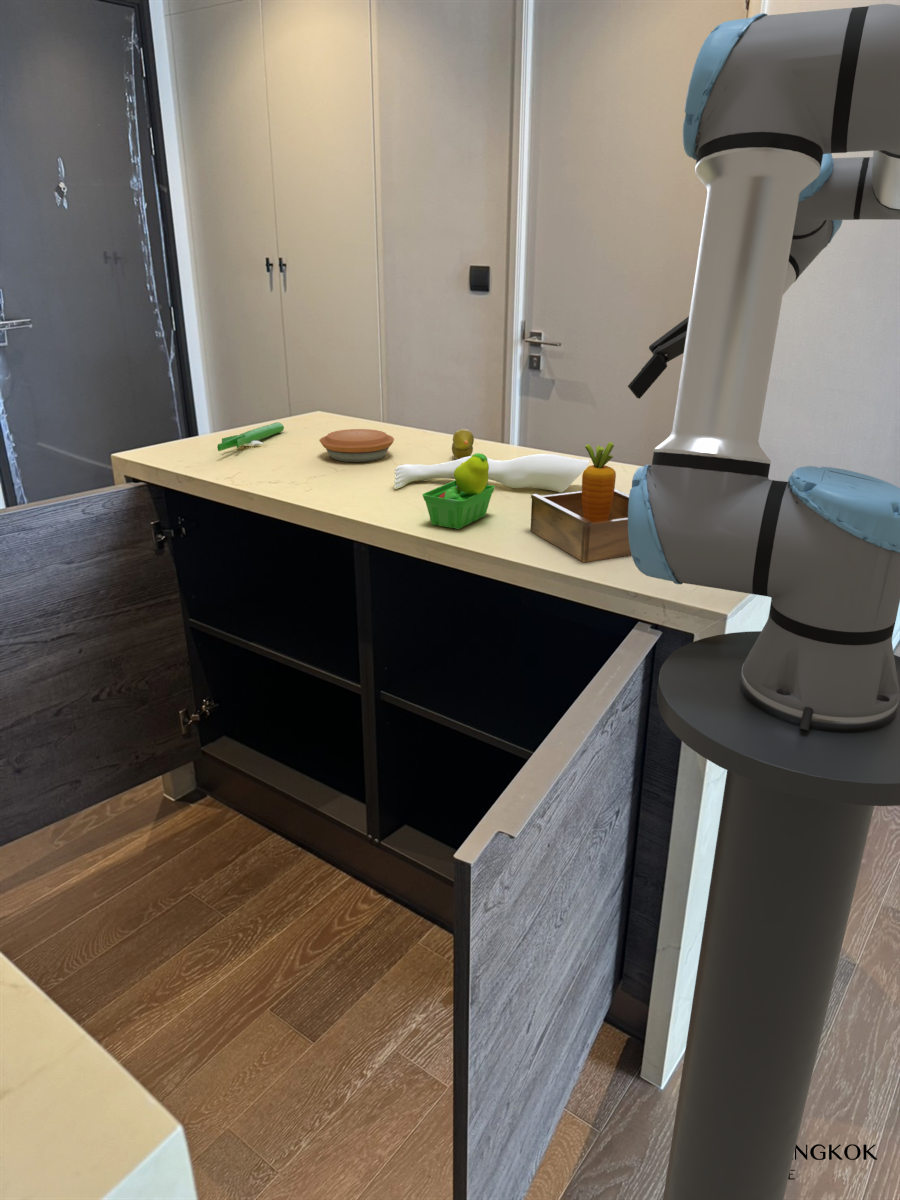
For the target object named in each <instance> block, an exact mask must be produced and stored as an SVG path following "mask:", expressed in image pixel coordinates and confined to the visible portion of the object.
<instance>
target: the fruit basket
mask: <svg viewBox="0 0 900 1200" xmlns="http://www.w3.org/2000/svg"><path fill="white" fill-rule="evenodd" d="M471 456H472V457H471V458H469V459H468V460H467V461H465V462H463V463H462V464H460V466H458V467H457V468H456V469H455V471H454V477H455V479H454V480H452V481H450V482H447V483H446V484H445V483H444V484H443V485H441V486H438V487H436V488H434V489H431V490H429V491H426V492H424V493H422V498H423V500H424V502H425V505H426V509H427V512H428V516H429V520H430V523H431V525H434V526H440V527H444V528H451V529H455V530H460V529H462V528H464V527H465V526H466V527H467V526H468V525H470V524H472V523H474V522H477V521H478V520H479V519H482V518H484V517H486V514H487V511H488V508H489V505H490V501H491V498H492V494H493V493H494V491H495V488H496V486H495V485H491V484H488V482H489V479H488V470H489V464H488V462H487V460H488V459H487V458H488V457H487V456H486V454H484V453H479V452H476V453H474V454H471Z"/></svg>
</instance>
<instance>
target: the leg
mask: <svg viewBox="0 0 900 1200" xmlns="http://www.w3.org/2000/svg"><path fill="white" fill-rule="evenodd" d="M471 457H472V455H471V456H468V457H464V458H460V459H458V458H457V459H455V460H450V461H445V462H441V463H436V464H435V463H434V464H418V463H416V464H410V463H405V464H399V465H398V466H396V468H395V469H394V475H395V476H394V477H393V478H394V479H395V480H394V481H393V483H394V486H393V487H394V489H395V490H397V489H400V488H403V487H404V486H406V485H407V484H409V483H412V482H415V481H419V482H425V481H429V480H436V479H437V480H439V479H448V480H455V477H454V471H455V469H456V468H457V467H458V466H460V464H462V463H463V462H465V461H467V460H468V459H469V458H471ZM487 459H488V460H487V462H488V464H489V470H488V481H493V482H496V483H500V484H502V485H503V486H506V487H507V488H512V489H523V488H531V489H538V490H547V491H551V492H556V493H558V494H561V493H564V492H565V491H566V490H567V489H568V488H569V487H570V486H571V485H572V484H573V483H574V482H575V481H576V479H577V478H578V477H579V476H580V475H581V474H583V472H584V470H585V469H586V468H587V467H588V465H589V463H590V459H582V458H574V457H571V456H570V457H569V456H565V455H560V454H553V453H537V454H536V453H535V454H529V455H523V456H519V457H516V458H512V459H507V460H499V459H492V458H489V457H487Z"/></svg>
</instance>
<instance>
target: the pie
mask: <svg viewBox="0 0 900 1200" xmlns="http://www.w3.org/2000/svg"><path fill="white" fill-rule="evenodd" d="M318 441H319V443H320V444H321V446H322V447H323V448H325V451H326V452H327V453H328V455H329V457H330V458H331V459H333V460H335V461H338V462H342V463H343V462H344V463H368V462H374V461H378V460H381V459H383V458H385V456H386V454H387V452H388V450H389V448H390V447H391V446H392V445H393V444H394V441H395V438H394V437H393V436H392V435H390V434H387V432H384V431H383V430H378V429H368V428H351V429H349V428H348V429H339V430H335V431H331V432H329V433H327V435H324V436H323V437H320V438H319V439H318Z"/></svg>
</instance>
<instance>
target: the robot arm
mask: <svg viewBox="0 0 900 1200" xmlns="http://www.w3.org/2000/svg"><path fill="white" fill-rule="evenodd" d="M687 88H688V89H687V92H686V99H685V104H684V113H685V115H684V120H683V125H682V144H683V150H684V153H685V154H686V155H687V157H689V158H691V159H693V160H695V161H696V162H695V168H694V169H695V170H694V173H695V176H696V177H697V179H699V181H700V182H701V183H702V184H703V186H704V187H705V189H706V190H707V194H706V201H705V207H704V215H703V221H702V227H701V235H700V239H699V240H700V241H699V247H698V253H697V254H698V255H697V261H696V267H695V268H696V269H695V275H694V282H693V289H692V294H691V300H690V301H691V302H690V307H689V315H688V316H687V317H686V318H684V319H683V320H681V321H680V322H678V323H677V324H676V325H675V326H673V328H671V329H670V330H668V331H667V332H665V333H663V335H662V336H660V337H659V338H657V340H655V341H653V342H652V343H651V344H650V345H649V346H648V350H649V351H650V352H651V353H652V356H651V357H650V359H649V360H648V361H647V362H646V363H645V364H644V366H643V367H642V368H641V369H640V370H639V372H638V373H637V374H636V376H635V377H634V378H633V379H632V380H631V381H630V383H629V384H628V385H627V388H628V389H629V390H630V391H631V392H632V394H633V395H634V396H635V398H637V399H641V398H642V397H643V396H644V395H645V394H646V392H647V391H648V390H649V389H650V387H652V385H653V384H654V383H655V382H656V381H657V379H658V378H659V377H660V376H661V375H662V373H664V371H665V370H666V369H667V368H668V363H669V362H670V361H672V360H674V359H675V358H677V357H680V356H681V355H682V354H683V356H682V362H681V369H680V375H679V381H678V387H677V388H678V389H677V395H676V403H675V408H674V416H673V421H672V422H673V423H672V427H671V428H672V429H671V432H670V434H669V436H668V437H667V438H666V439H665V440H663V441H662V442H661V443H659V444H658V445H657V446H656V447H654V450H653V452H652V453H653V454H652V460H651V465H650V464H645V465H643V466H639V467H638V468H637V469H636V470H635V472H634V473H633V475H632V480H631V488H630V490H629V493H628V495H629V503H628V536H629V545H630V550H631V555H630V556H631V558H632V561H633V563H634V565H635V567H636V568H637V569H638V571H639V572H640V573H642V574H643V575H645V576H647V577H649V578H654V579H659V580H663V581H668V582H673V583H674V584H675V585H683V584H685V585H686V584H687V585H692V586H699V587H706V588H712V589H719V590H724V591H730V592H737V593H743V594H748V595H749V594H750V595H757V596H761V597H768V598H770V605H769V612H768V618H767V621H766V622H765V624H764V626H763V628H762V629H761V630H760V631H761V633H760V635H759V637H758V638H757V640H756V642H755V644H754V646H753V647H752V649H751V650H750V652H749V654H748V655H747V657H746V660H745V662H744V664H743V666H742V672H741V679H740V688H741V691H742V693H743V694H744V696H745V697H746V698H747V699H748V700H749V701H750V702H751V703H752V704H753V705H755V706H756V707H757V708H759V709H760V710H762V711H764V712H765V713H767V714H769V715H771V716H773V717H775V718H778V719H780V720H783V721H785V722H788V723H791V724H794V725H798V726H800V727H799V730H800V731H801V732H805V733H807V732H808V731H809V728H810V729H815V730H821V731H828V732H842V733H852V732H864V731H870V730H874V729H878V728H880V727H883V726H885V725H887V724H888V723H890V722H891V721H892V720H893V719H894V717H895V715H896V712H897V708H898V704H899V699H900V694H899V685H898V679H897V672H896V666H895V659H894V655H895V654H894V648H893V635H894V630H895V625H896V621H897V616H898V613H899V608H900V487H899V486H896V485H895V484H893V483H891V482H888V481H887V480H883V479H880V478H878V477H875V476H871V475H868V474H866V473H865V474H864V473H862V472H857V471H853V470H848V469H843V468H838V467H832V466H821V467H818V466H813V465H807V466H800V467H797V468H794V470H793V471H792V472H791V474H790V475H789V476H788V480H787V481H786V480H785V481H784V480H776V479H775V480H774V479H769V474H770V469H771V464H772V460H771V459H770V458H769V456H768V455H767V454H766V453H765V451H764V450H763V449H762V447H761V445H760V442H759V439H760V433H761V427H762V421H763V415H764V409H765V405H766V398H767V392H768V386H769V379H770V373H771V368H772V363H773V356H774V350H775V344H776V338H777V332H778V325H779V319H780V314H781V309H782V303H783V302H782V301H783V296H784V295H785V293H786V292H787V291H788V290H789V289H790V287H791V286H792V285H793V284H794V283H795V282H796V281H797V280H798V278H800V276H801V275H802V273H804V271H805V270H806V269H807V268H808V267H809V266H810V265H811V264H812V262H813V261H814V260H815V259H816V258H817V257H818V255H820V253H821V252H822V251H823V250H824V249H825V248H827V247H828V245H829V244H830V243H832V240H833V239H834V237H835V236H836V234H837V233H838V231H839V230H840V228H841V227H842V225H843V221H859V220H885V221H886V220H895V221H896V220H897V221H898V220H899V221H900V4H895V3H894V4H892V3H881V4H880V3H878V4H869V5H866V6H856V7H845V8H844V7H843V8H834V9H823V10H822V9H821V10H812V11H800V12H789V13H780V14H778V13H777V14H770V15H769V14H767V13H764V12H761V13H758V14H755V15H753V16H752V17H744V18H740V19H739V18H738V19H733V20H727V21H723V22H722V23H720V24H718V25H717V26H715V28H714V29H713V30H711V32H710V33H709V34H708V35H707V37H706V38H705V40H704V41H703V43H702V45H701V46H700V49H699V51H698V54H697V56H696V59H695V62H694V65H693V68H692V72H691V76H690V80H689V84H688V87H687ZM856 152H857V153H859V152H872V153H873V154H872V156H866V157H864V156H856V157H833V155H832V154H846V153H856Z"/></svg>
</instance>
